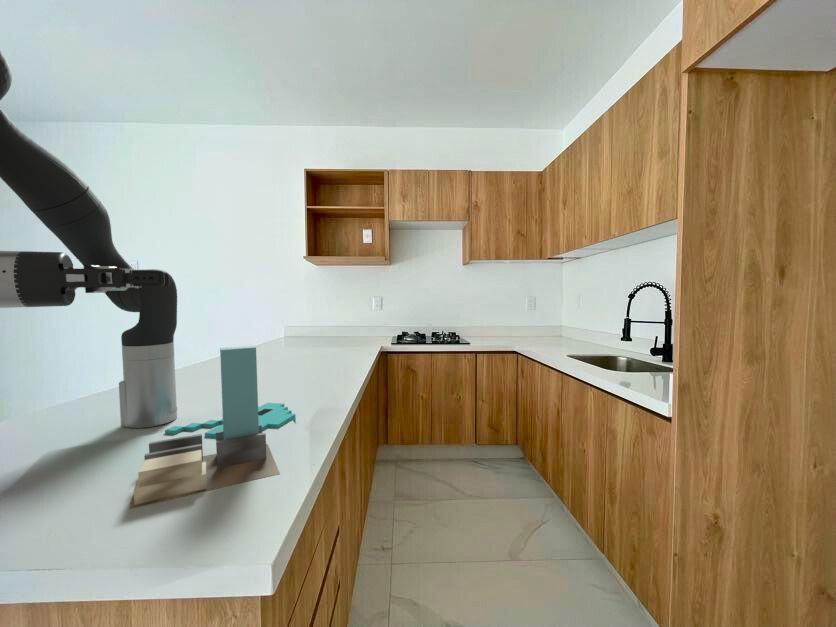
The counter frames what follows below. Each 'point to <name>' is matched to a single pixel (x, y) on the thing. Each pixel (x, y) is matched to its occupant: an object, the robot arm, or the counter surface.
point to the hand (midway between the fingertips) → (166, 279)
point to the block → (239, 391)
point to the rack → (221, 460)
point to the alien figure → (267, 417)
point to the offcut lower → (170, 487)
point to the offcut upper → (170, 468)
